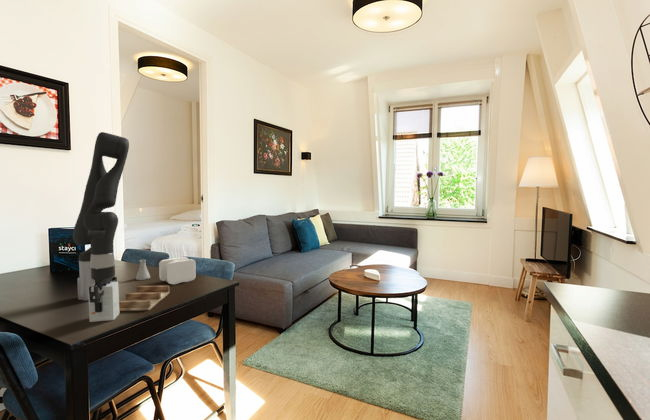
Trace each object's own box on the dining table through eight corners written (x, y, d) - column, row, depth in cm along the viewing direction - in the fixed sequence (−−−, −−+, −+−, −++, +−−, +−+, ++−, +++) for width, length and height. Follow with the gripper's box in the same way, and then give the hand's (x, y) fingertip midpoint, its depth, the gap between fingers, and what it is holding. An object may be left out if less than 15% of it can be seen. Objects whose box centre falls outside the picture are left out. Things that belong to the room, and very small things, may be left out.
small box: (119, 313, 128) (118, 281, 127) (113, 320, 122) (112, 286, 121) (96, 315, 126) (94, 282, 125) (88, 322, 120) (87, 287, 119)
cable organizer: (166, 286, 164) (165, 263, 163) (159, 281, 171) (158, 259, 170) (196, 280, 174) (195, 259, 173) (187, 276, 182) (187, 255, 181)
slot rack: (112, 310, 131) (112, 302, 131) (138, 293, 153) (138, 285, 152) (149, 310, 133) (149, 301, 132) (169, 292, 154) (169, 285, 154)
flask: (147, 275, 182) (146, 258, 181) (153, 278, 177) (152, 260, 177) (133, 278, 176) (132, 260, 176) (138, 281, 172) (138, 262, 171)
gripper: (103, 260, 129) (105, 301, 131) (79, 270, 115) (81, 316, 116) (123, 260, 130) (124, 301, 131) (102, 269, 116) (103, 315, 117)
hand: (104, 308), depth 124 cm, fingers closed on small box, 6 cm apart
